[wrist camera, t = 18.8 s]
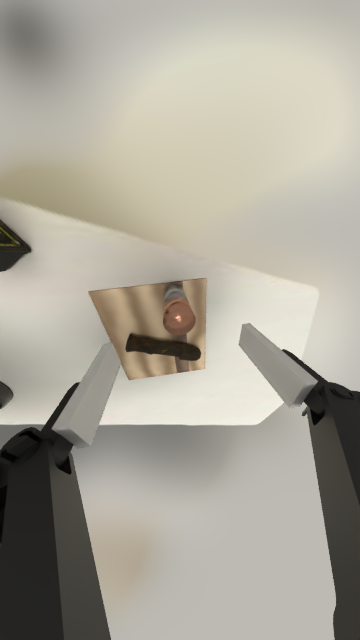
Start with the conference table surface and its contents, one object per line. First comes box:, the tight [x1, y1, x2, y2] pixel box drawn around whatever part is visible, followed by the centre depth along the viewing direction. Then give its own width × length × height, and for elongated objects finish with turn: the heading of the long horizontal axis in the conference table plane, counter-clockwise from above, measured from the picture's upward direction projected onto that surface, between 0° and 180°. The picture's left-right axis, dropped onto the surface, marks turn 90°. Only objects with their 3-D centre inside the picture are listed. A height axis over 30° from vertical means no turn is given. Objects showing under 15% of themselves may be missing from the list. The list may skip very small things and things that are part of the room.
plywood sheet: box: [89, 278, 206, 380], centre depth 33 cm, size 24×28×1 cm
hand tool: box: [125, 333, 201, 361], centre depth 32 cm, size 19×4×5 cm, turn 72°
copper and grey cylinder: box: [163, 284, 196, 335], centre depth 22 cm, size 4×4×12 cm
